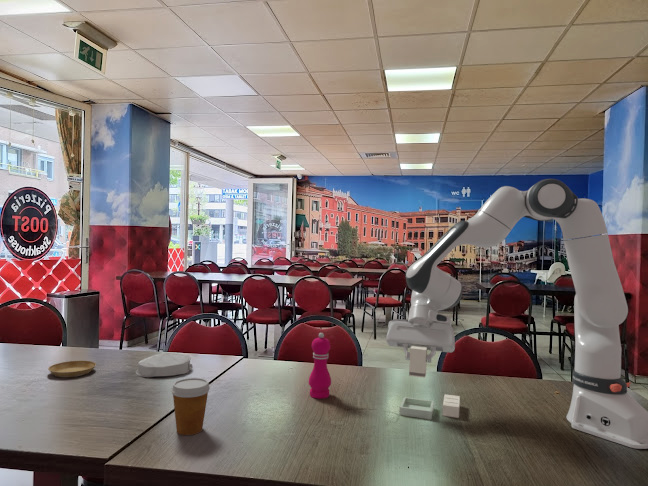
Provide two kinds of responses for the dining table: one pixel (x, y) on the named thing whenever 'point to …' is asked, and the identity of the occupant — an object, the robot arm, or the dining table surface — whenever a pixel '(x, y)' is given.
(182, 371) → the food container
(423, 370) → the stub
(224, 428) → the dining table surface
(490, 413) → the dining table surface
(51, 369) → the plant saucer
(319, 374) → the pepper mill
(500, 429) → the dining table surface
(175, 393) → the disposable coffee cup
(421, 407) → the stub tray
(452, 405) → the white grooved block
